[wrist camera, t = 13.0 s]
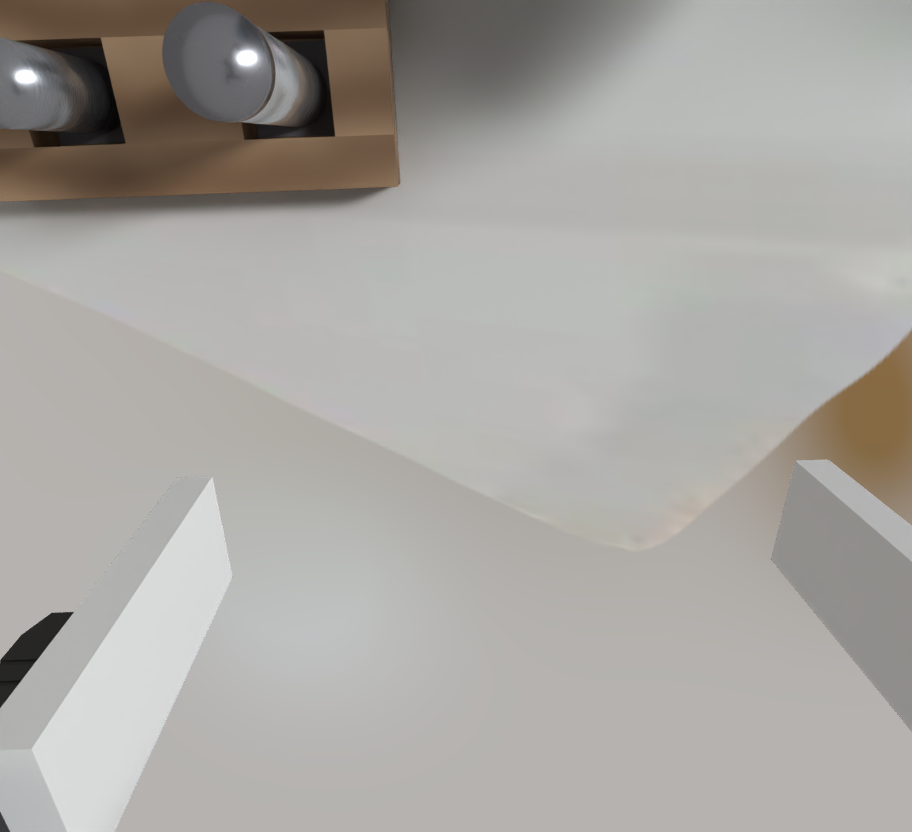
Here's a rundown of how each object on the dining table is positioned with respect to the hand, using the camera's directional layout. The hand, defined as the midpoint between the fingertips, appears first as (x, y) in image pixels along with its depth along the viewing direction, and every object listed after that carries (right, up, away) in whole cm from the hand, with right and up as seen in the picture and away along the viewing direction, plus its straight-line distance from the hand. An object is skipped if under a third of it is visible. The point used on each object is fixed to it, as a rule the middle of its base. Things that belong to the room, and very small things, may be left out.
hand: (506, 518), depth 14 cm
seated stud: (-21, +20, +19) cm, 35 cm away
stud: (-10, +20, +19) cm, 30 cm away
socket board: (-16, +20, +20) cm, 32 cm away
